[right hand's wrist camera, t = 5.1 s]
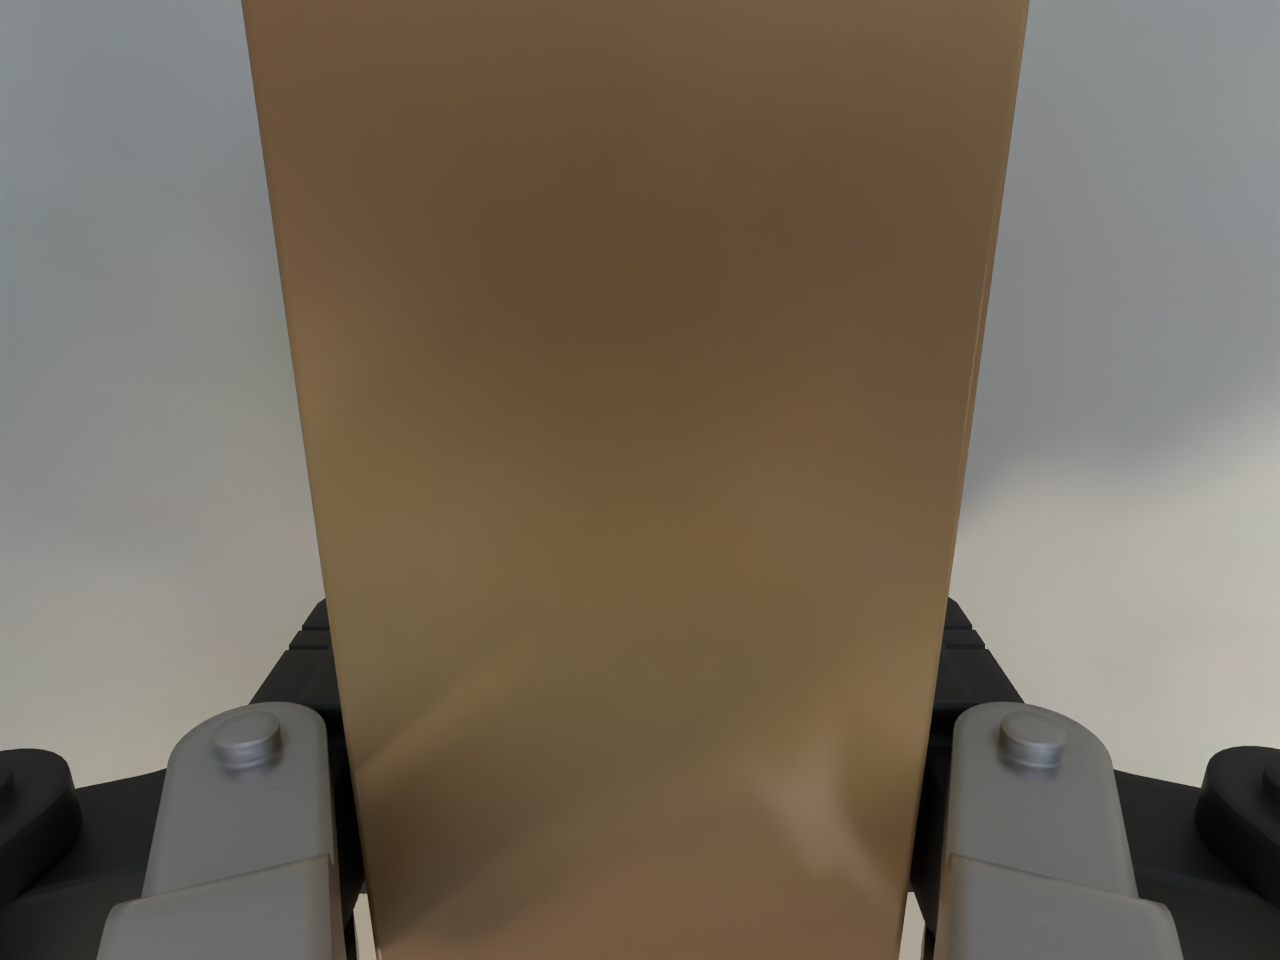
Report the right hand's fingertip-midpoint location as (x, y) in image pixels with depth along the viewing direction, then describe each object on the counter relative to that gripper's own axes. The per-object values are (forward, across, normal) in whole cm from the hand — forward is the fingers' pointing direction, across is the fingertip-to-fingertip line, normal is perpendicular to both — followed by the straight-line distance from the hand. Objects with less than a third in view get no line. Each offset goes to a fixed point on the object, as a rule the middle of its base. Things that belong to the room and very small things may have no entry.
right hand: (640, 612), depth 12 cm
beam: (+2, 0, -27) cm, 27 cm away
